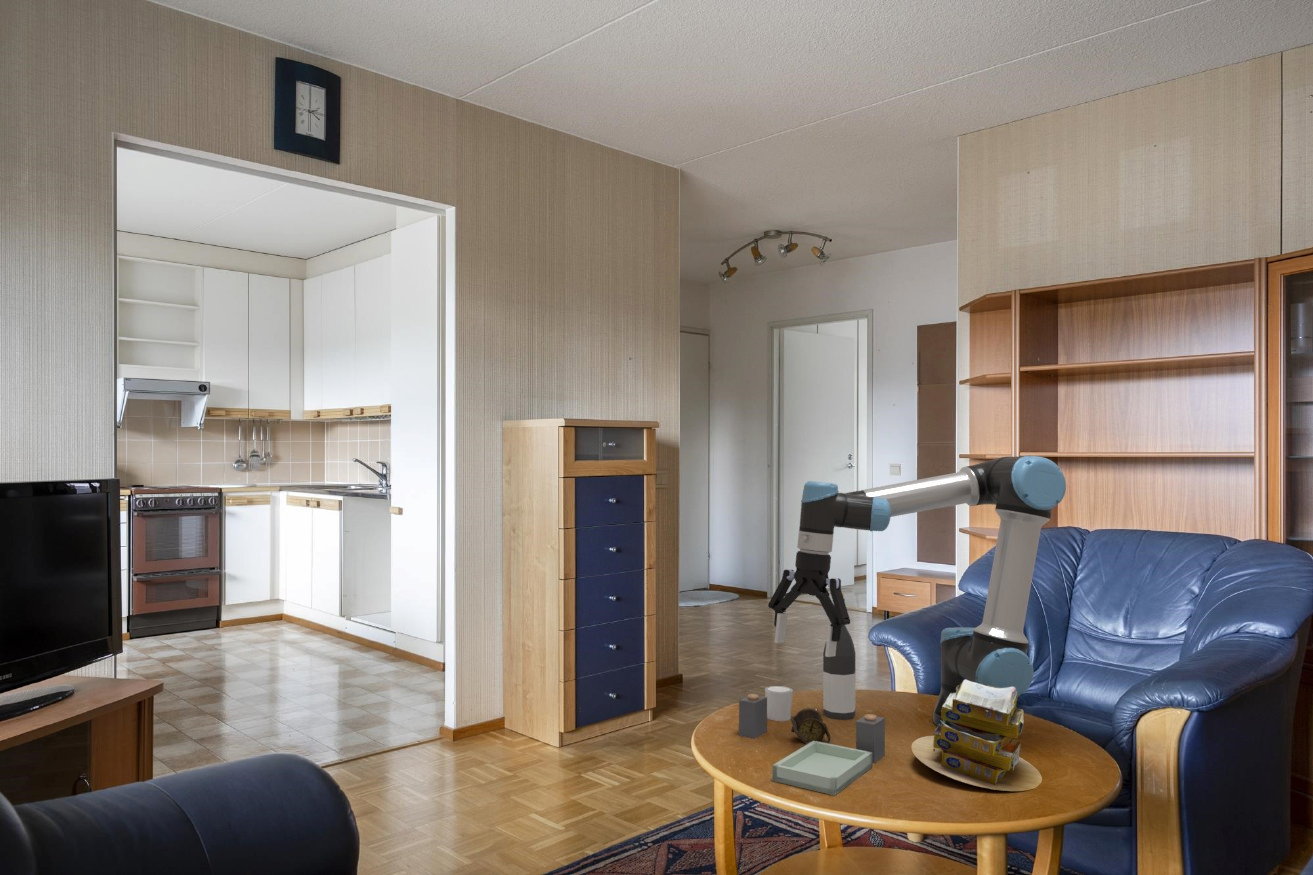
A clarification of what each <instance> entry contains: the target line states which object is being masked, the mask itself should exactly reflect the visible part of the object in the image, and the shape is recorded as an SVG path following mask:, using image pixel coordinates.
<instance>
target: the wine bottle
mask: <svg viewBox="0 0 1313 875" xmlns="http://www.w3.org/2000/svg"><path fill="white" fill-rule="evenodd" d="M842 595H843V598H844V597H845V596H844V592H842ZM844 601H845V598H844ZM854 644H855V643H854V641H853V639H852V636H851V634H850V631H848V629H847V626H846V625H843V626H842V627H841V634H840V640H839V641H838V642H837V644H836V654H835V656H832V657H826V656H825V651H826V642H825V644H824V648H823V653H822V654H823V657H822V662H823V664H822V666H823V668H822V673H823V674H822V678H823V679H822V681H823V682H822V684H823V685H822V687H823V688H822V691H823V692H822V693H823V695H822V696H823V697H822V700H823V702H822V705H823V706H822V711H823V716H824V715H825V716H824V717H827V718H830V719H834V720H850V719H854V718H855V716H856V649H855V645H854Z"/></svg>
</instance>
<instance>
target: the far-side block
mask: <svg viewBox="0 0 1313 875" xmlns="http://www.w3.org/2000/svg"><path fill="white" fill-rule="evenodd" d="M767 732H768V718H767V697H766V696H762V695H759V694H757V693H749V694H747V695H746V696H745V697H743V698H741V699H739V701H738V736H739V737H745V738H748V739H757V738H759V737H760V736H763V735H764V734H766V733H767ZM762 734H763V735H762Z"/></svg>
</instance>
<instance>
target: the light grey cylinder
mask: <svg viewBox="0 0 1313 875" xmlns="http://www.w3.org/2000/svg"><path fill="white" fill-rule="evenodd" d="M764 692H765V694H764V695H765V696H764V697H767V720H770V721H774V722H787V721H791V719H792V717H791V716H792V705H793V695H794V694H793V693H794V689H793V688H791V687H788V686H783V685H771V686H766V687H765V688H764Z"/></svg>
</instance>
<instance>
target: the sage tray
mask: <svg viewBox="0 0 1313 875" xmlns="http://www.w3.org/2000/svg"><path fill="white" fill-rule="evenodd" d="M823 742H824V741H819V742H818V741H812V742H810V743H809V744H807V745H805V744H804V746H802V747H800V748H798V749H797V750H795V751H794V752H792V753H790V754H789V755H787V756H786V757H783V758H782V759H780V760H779V761H777V762H776V763H774V764H772V769H771V775H772V776H771V777H772V778H771V781H772V782H775V783H780V784H784V785H788V786H793V787H796V788H800V789H801V788H802V789H806V790H808V791H809V790H810V791H814V792H818V793H823V794H827V795H831V796H836V795H838V794H839V793H840V792H842V791H843V790H844V789H845V788H847V787H849V786H850V785H851V784H852V783H854V782H855V781H857V779H859V778H860V777H862V776H863V775H864V774H865V773H867V772H868V771H869V770H870V769H872V768H873V763H872V752H868V751H863V750H858V749H856V748H852V747H846V746H842V745H837V744H833V743H832V744H831V743H829V744H828V743H823Z"/></svg>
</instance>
